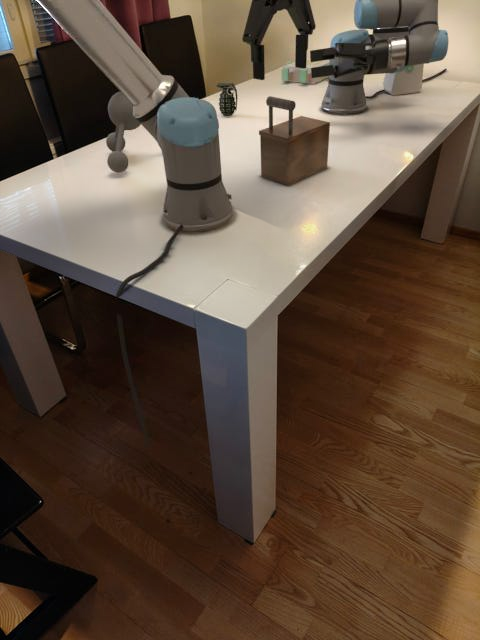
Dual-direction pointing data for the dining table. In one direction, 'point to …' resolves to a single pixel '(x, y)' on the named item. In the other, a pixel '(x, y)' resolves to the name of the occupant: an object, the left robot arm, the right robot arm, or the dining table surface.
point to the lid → (290, 122)
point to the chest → (294, 157)
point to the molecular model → (119, 130)
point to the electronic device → (404, 80)
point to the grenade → (227, 99)
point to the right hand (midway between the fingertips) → (310, 65)
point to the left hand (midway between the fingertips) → (280, 73)
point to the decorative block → (302, 72)
